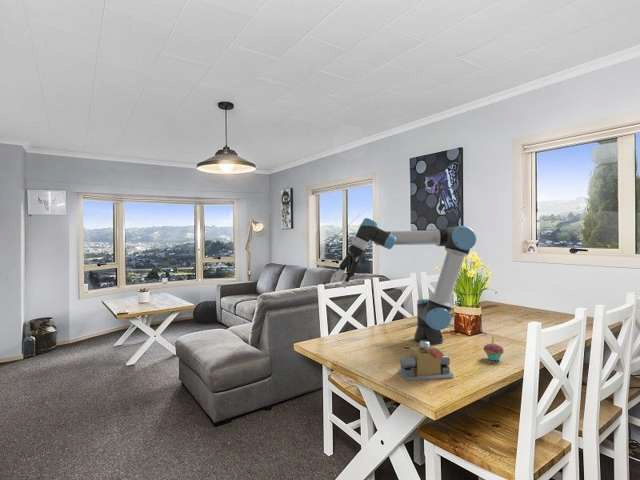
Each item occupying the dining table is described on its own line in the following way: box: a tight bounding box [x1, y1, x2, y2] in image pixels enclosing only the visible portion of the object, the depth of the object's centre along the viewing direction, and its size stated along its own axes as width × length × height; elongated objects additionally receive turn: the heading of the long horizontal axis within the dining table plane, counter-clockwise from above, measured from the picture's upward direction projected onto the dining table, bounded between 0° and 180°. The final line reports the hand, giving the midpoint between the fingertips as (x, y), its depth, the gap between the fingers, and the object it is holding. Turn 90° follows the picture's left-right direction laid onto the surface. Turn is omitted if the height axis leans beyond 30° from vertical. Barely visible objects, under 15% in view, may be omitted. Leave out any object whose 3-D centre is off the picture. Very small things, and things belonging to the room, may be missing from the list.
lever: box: [419, 341, 444, 359], centre depth 146 cm, size 16×4×3 cm, turn 8°
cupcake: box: [483, 334, 505, 362], centre depth 169 cm, size 9×8×12 cm
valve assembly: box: [397, 346, 454, 382], centre depth 152 cm, size 20×10×11 cm, turn 98°
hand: (339, 283), depth 186 cm, fingers open, 13 cm apart
